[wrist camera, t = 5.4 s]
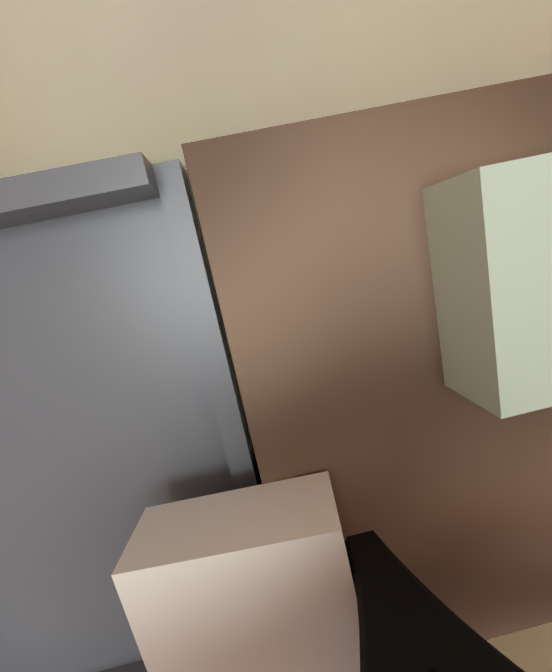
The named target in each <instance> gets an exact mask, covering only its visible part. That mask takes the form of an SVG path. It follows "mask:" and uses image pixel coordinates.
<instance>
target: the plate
mask: <svg viewBox="0 0 552 672" xmlns="http://www.w3.org/2000/svg"><path fill="white" fill-rule="evenodd" d="M181 145H182V150H183V154H184V158H185V162H186V166H187V171H188V175H189V179H190V183H191V187H192V192H193V196H194V200H195V204H196V208H197V213H198V217H199V221H200V225H201V229H202V234H203V238H204V242H205V246H206V250H207V255H208V259H209V263H210V267H211V271H212V276H213V280H214V284H215V288H216V292H217V297H218V301H219V305H220V309H221V313H222V318H223V322H224V326H225V330H226V334H227V339H228V343H229V347H230V351H231V355H232V360H233V364H234V368H235V372H236V376H237V381H238V385H239V389H240V393H241V397H242V402H243V406H244V410H245V414H246V419H247V423H248V427H249V431H250V435H251V440H252V444H253V448H254V452H255V456H256V461H257V465H258V469H259V473H260V477H261V482H262V484H266V483H270V482H275V481H280V480H285V479H290V478H295V477H300V476H305V475H310V474H315V473H320V472H325V471H328V473H329V477H330V481H331V486H332V490H333V494H334V498H335V503H336V507H337V511H338V516H339V520H340V524H341V528H342V533H343V537H344V542H345V540H346V539H347V538H346V537H348V536H352V535H356V534H360V533H364V532H368V531H372V530H373V531H374V532H375V533H376V534H377V535H378V536H379V537H380V539H381V540H382V541H383V542H384V543H385V544H386V546H387V547H388V548H389V549H390V550H391V551H392V552H393V553H394V554H395V555H396V556H397V558H398V559H399V560H400V561H401V562H402V563H403V564H404V565H405V566H406V567H407V568H408V569H409V570H410V571H411V572H412V573H413V574H414V575H415V576H416V577H417V578H418V579H419V580H420V581H421V582H422V583H423V584H424V585H425V586H426V587H427V588H428V589H429V590H430V591H431V592H432V593H433V594H435V595H436V596H437V597H438V598H439V599H440V600H441V601H442V602H443V603H444V604H445V605H446V606H447V607H448V608H449V609H451V610H452V611H453V612H454V613H455V614H456V615H457V616H458V617H459V618H461V619H462V620H463V621H464V622H465V623H466V624H467V625H469V626H470V627H471V628H472V629H473V630H474V631H476V632H477V633H478V634H479V635H480V636H481V637H483V638H484V639H485V640H487V639H491V638H494V637H498V636H501V635H505V634H509V633H512V632H516V631H519V630H523V629H526V628H530V627H534V626H537V625H541V624H544V623H548V622H551V621H552V407H548V408H544V409H540V410H536V411H532V412H528V413H524V414H520V415H516V416H512V417H507V418H503V419H501V418H499V417H497V416H496V415H494V414H492V413H491V412H489V411H487V410H486V409H484V408H482V407H481V406H479V405H477V404H475V403H474V402H472V401H470V400H469V399H467V398H465V397H464V396H462V395H460V394H459V393H457V392H455V391H454V390H452V389H450V388H449V387H447V386H445V383H444V374H443V366H442V357H441V349H440V340H439V332H438V323H437V315H436V306H435V298H434V289H433V281H432V273H431V264H430V256H429V247H428V239H427V230H426V222H425V213H424V205H423V196H422V189H424V188H426V187H429V186H432V185H434V184H437V183H439V182H442V181H444V180H447V179H450V178H452V177H455V176H457V175H460V174H463V173H465V172H468V171H470V170H473V169H476V168H478V167H482V166H487V165H492V164H497V163H502V162H506V161H511V160H516V159H521V158H526V157H531V156H536V155H541V154H546V153H551V152H552V74H548V75H542V76H537V77H532V78H527V79H521V80H516V81H511V82H506V83H500V84H495V85H490V86H485V87H479V88H474V89H469V90H464V91H458V92H453V93H448V94H443V95H437V96H432V97H427V98H422V99H416V100H411V101H406V102H401V103H395V104H390V105H385V106H380V107H374V108H369V109H364V110H359V111H353V112H348V113H343V114H338V115H332V116H327V117H322V118H317V119H311V120H306V121H301V122H296V123H290V124H285V125H280V126H275V127H269V128H264V129H259V130H254V131H248V132H243V133H238V134H233V135H227V136H222V137H217V138H212V139H206V140H201V141H196V142H191V143H185V144H181Z"/></svg>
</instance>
